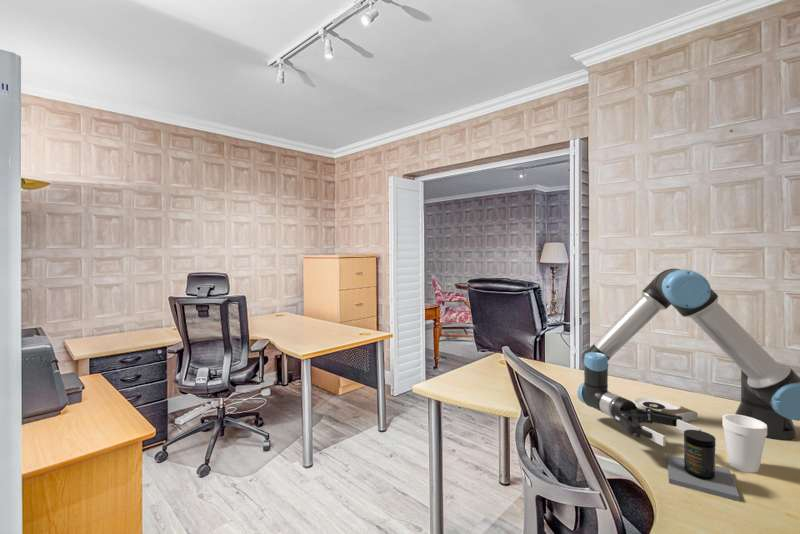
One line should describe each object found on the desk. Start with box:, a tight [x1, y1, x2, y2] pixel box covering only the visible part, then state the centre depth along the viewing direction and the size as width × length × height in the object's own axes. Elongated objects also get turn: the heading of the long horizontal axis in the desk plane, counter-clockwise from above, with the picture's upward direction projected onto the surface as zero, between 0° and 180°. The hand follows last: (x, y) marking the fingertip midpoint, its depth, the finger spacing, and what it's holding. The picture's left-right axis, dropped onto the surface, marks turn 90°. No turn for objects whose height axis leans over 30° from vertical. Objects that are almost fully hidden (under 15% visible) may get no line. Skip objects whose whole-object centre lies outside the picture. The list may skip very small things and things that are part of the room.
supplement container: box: [683, 430, 717, 480], centre depth 102 cm, size 7×7×10 cm
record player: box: [634, 397, 699, 422], centre depth 145 cm, size 12×3×20 cm
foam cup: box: [722, 413, 767, 474], centre depth 107 cm, size 10×9×13 cm
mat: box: [666, 454, 740, 502], centre depth 102 cm, size 14×14×1 cm
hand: (682, 437), depth 106 cm, fingers open, 13 cm apart
